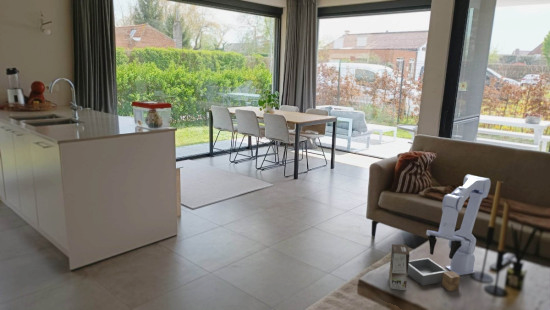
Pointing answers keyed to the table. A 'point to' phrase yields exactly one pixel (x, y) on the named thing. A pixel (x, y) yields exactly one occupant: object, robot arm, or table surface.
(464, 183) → the robot arm
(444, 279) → the tan block
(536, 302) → the table surface
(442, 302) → the table surface
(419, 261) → the gray bin
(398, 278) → the coffee box
